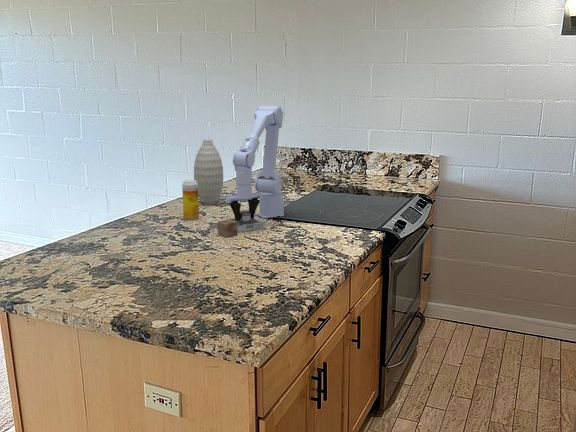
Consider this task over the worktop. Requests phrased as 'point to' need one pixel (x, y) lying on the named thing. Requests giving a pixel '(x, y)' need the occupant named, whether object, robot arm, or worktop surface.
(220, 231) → the walnut block
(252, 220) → the frame
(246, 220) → the grooved metal cylinder
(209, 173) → the vase
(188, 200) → the beer can
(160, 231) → the worktop surface
